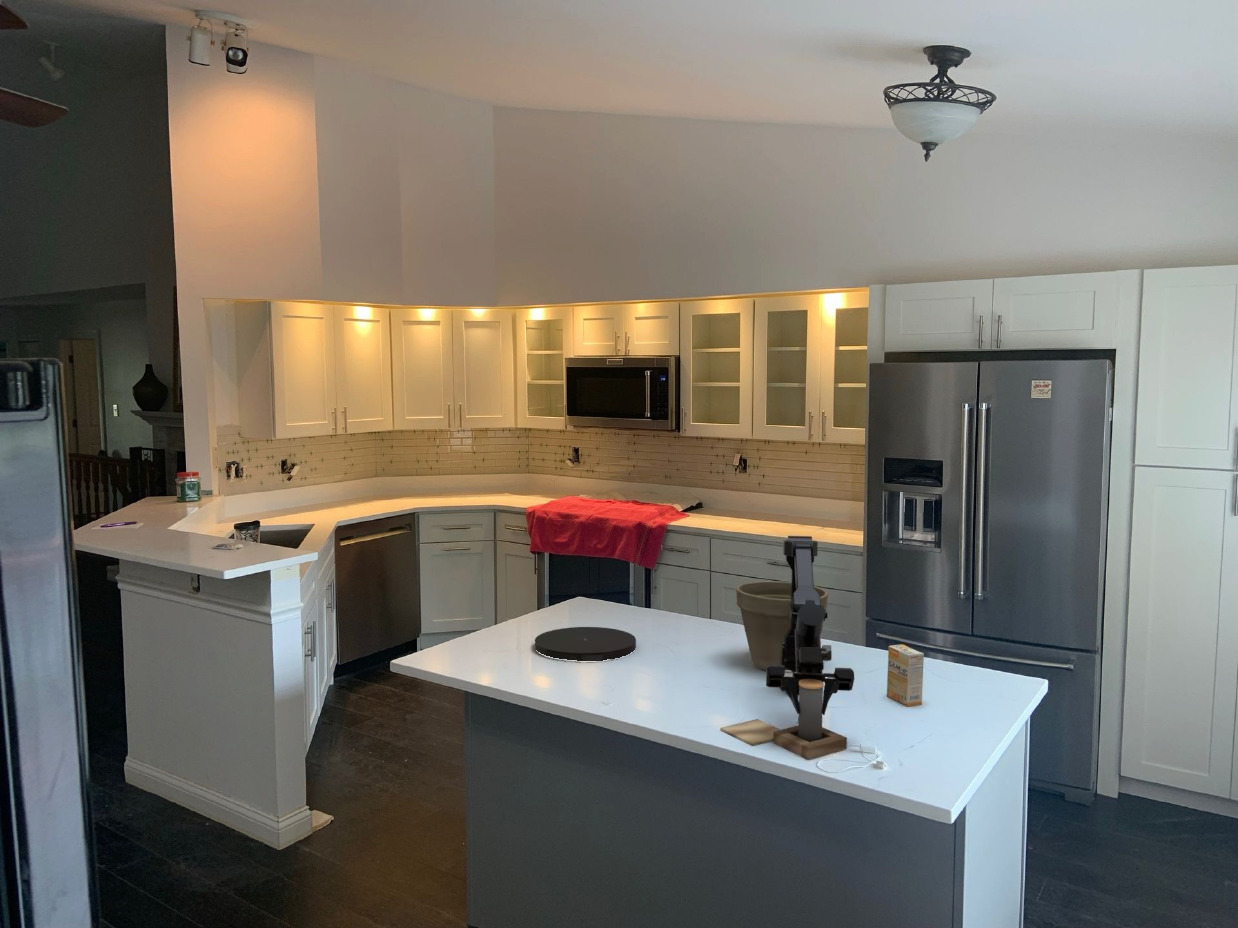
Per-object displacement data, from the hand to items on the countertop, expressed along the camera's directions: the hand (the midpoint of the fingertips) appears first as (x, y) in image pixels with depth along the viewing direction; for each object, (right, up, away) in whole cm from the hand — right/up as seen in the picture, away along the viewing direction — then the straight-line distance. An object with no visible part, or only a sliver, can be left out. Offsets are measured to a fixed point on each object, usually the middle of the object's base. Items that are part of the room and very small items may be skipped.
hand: (810, 713), depth 199 cm
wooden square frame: (0, -7, +2) cm, 8 cm away
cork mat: (-11, -7, +9) cm, 16 cm away
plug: (0, -7, +2) cm, 8 cm away
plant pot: (+4, -3, +60) cm, 60 cm away
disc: (-51, -2, +77) cm, 92 cm away
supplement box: (+30, -5, +32) cm, 44 cm away
